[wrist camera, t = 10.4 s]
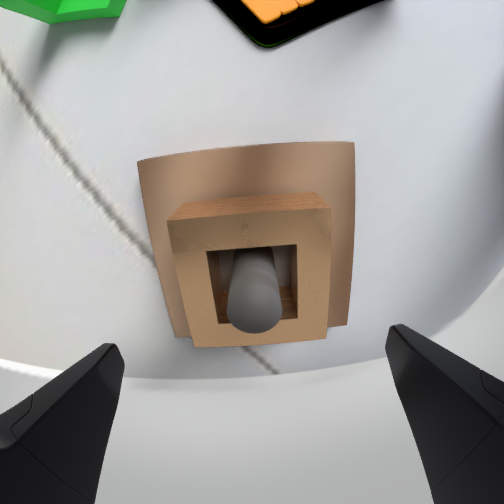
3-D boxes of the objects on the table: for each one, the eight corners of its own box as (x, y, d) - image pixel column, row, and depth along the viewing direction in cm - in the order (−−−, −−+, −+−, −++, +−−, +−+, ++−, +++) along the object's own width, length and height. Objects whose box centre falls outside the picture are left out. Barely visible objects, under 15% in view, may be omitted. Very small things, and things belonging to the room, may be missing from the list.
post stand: (345, 141, 14) (408, 150, 8) (341, 311, 19) (373, 388, 12) (146, 158, 15) (80, 180, 8) (180, 323, 19) (155, 402, 13)
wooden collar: (315, 192, 14) (331, 207, 11) (314, 304, 16) (326, 338, 13) (183, 202, 14) (166, 220, 11) (202, 313, 16) (194, 347, 13)
